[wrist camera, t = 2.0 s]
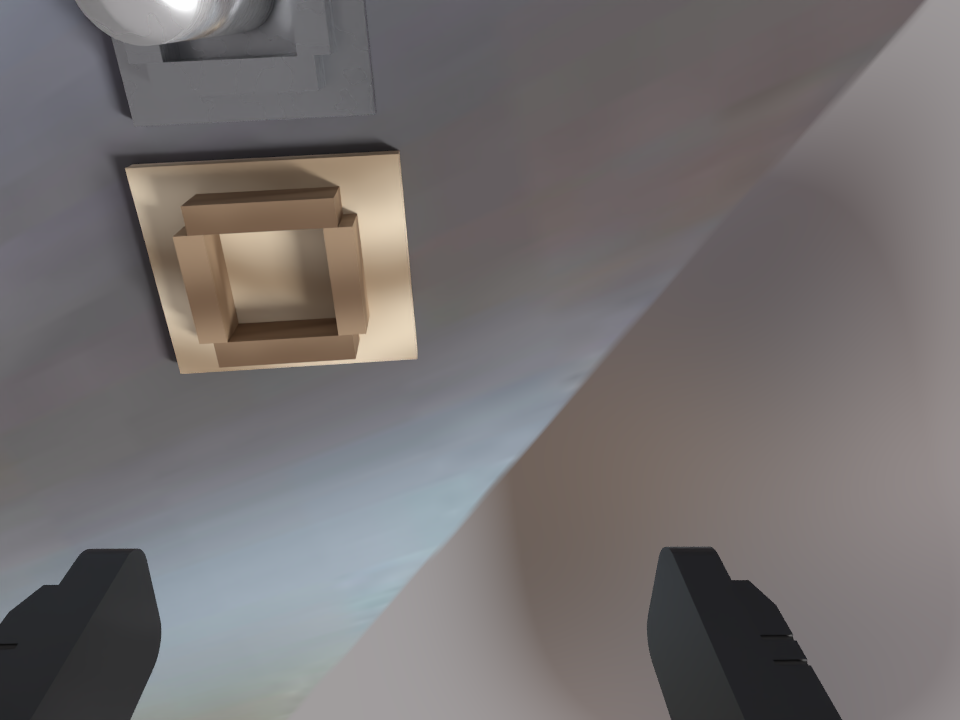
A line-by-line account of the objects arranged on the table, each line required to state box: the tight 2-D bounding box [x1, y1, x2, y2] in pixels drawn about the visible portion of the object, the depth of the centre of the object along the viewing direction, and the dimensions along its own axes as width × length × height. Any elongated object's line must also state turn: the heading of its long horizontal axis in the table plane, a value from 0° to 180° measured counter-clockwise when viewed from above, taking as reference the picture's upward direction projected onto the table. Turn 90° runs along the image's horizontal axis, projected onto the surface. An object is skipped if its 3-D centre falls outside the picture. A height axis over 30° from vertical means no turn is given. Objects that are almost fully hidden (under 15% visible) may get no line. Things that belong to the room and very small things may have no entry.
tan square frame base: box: [125, 151, 417, 374], centre depth 38 cm, size 12×14×4 cm
